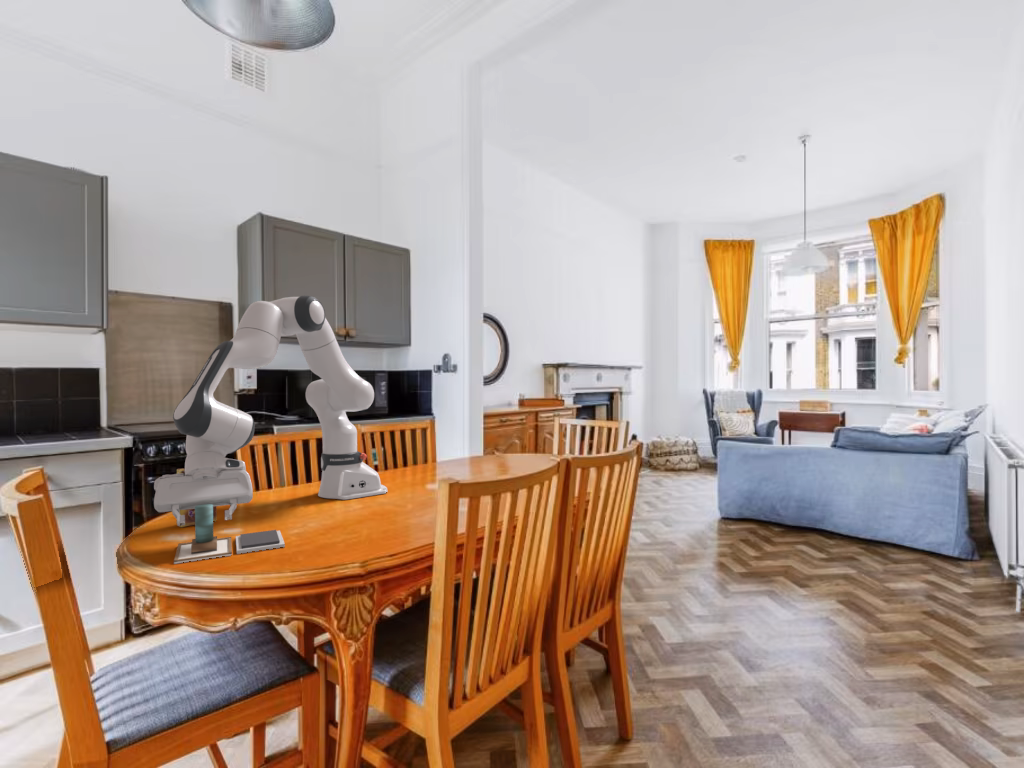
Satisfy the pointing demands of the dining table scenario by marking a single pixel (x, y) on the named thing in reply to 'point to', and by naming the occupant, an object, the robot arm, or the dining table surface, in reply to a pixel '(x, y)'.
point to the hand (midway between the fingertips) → (205, 521)
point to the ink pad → (259, 541)
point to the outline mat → (222, 550)
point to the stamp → (204, 530)
